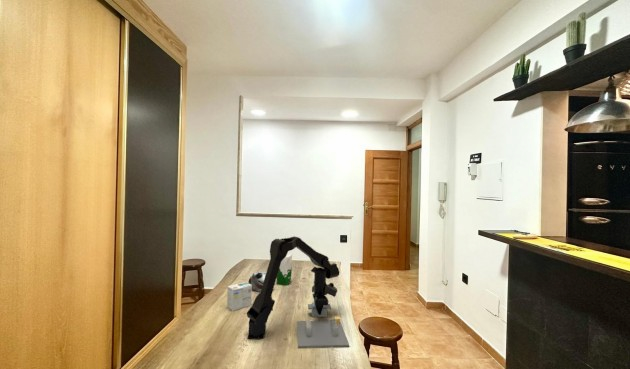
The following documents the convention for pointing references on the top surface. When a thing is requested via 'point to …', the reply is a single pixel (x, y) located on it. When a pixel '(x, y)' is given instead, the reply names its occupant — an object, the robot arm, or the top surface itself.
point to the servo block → (314, 310)
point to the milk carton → (285, 271)
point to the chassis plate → (321, 334)
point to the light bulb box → (239, 296)
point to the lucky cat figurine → (257, 280)
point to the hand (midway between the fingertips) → (319, 312)
